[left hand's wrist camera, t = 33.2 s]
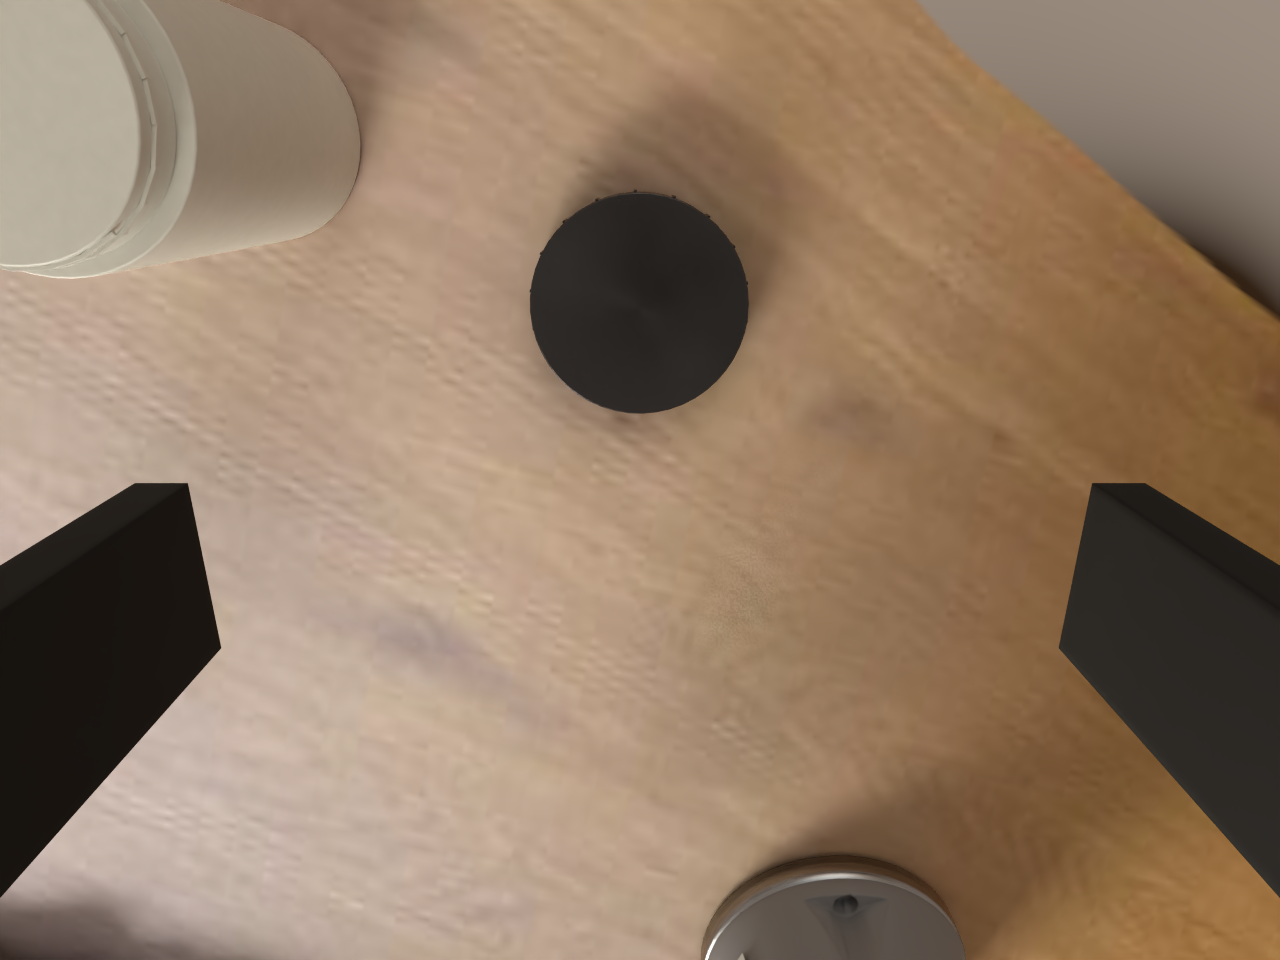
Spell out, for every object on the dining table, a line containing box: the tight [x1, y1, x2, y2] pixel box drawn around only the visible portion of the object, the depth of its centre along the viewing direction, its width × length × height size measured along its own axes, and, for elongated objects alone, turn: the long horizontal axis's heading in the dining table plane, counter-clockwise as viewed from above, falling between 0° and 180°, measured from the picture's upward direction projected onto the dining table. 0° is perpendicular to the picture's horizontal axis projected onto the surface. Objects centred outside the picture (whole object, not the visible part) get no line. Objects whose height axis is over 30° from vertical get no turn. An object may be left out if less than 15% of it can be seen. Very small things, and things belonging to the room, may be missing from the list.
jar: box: [0, 0, 360, 279], centre depth 27 cm, size 8×8×15 cm
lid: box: [530, 190, 749, 414], centre depth 35 cm, size 9×9×2 cm
